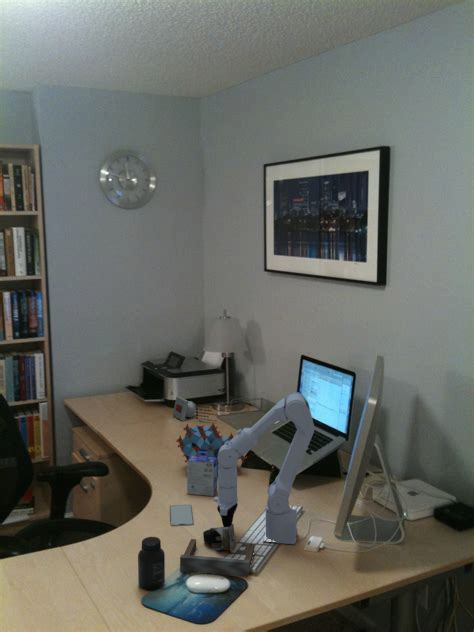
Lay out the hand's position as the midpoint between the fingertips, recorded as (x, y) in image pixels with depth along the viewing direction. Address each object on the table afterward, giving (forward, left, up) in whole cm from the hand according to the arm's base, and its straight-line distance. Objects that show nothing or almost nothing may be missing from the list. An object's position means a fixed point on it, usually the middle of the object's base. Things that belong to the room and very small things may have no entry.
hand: (227, 528), depth 194 cm
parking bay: (0, +15, -2) cm, 15 cm away
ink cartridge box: (+14, -30, -3) cm, 33 cm away
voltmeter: (+35, -113, -3) cm, 119 cm away
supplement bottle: (+15, +30, -3) cm, 33 cm away
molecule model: (+15, -51, -3) cm, 53 cm away
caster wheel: (+1, +6, -3) cm, 7 cm away
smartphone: (+17, -11, -3) cm, 21 cm away
